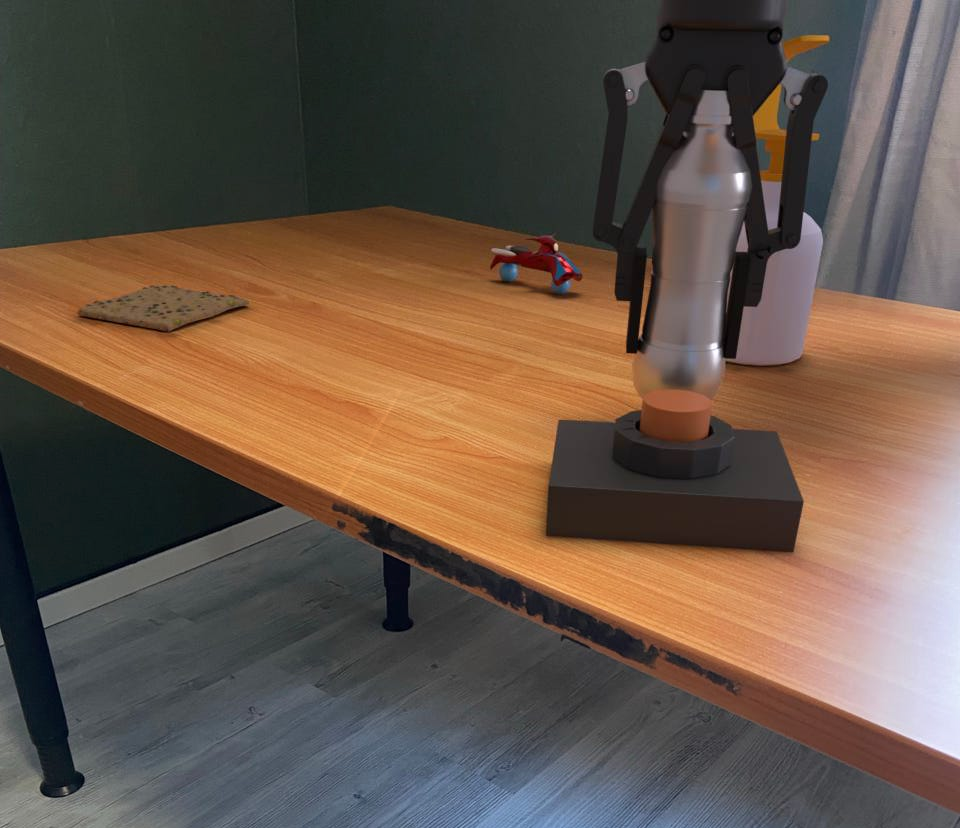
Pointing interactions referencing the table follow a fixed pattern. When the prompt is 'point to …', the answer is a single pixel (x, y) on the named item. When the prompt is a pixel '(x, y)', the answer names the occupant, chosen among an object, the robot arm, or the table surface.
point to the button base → (672, 487)
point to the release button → (675, 415)
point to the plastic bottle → (693, 255)
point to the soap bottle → (780, 252)
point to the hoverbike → (538, 262)
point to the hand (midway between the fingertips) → (679, 350)
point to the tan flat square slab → (162, 307)
